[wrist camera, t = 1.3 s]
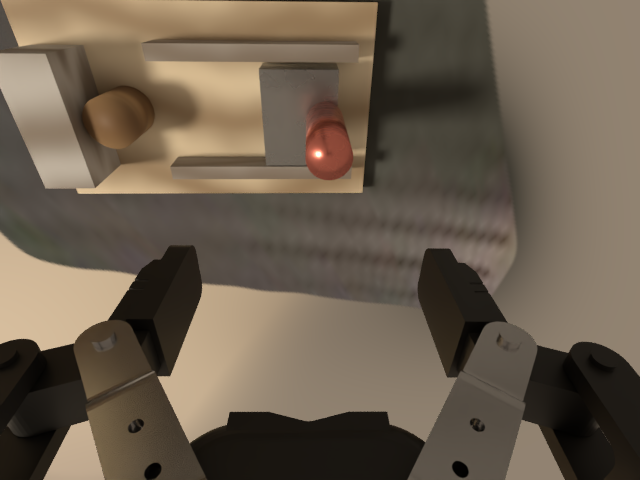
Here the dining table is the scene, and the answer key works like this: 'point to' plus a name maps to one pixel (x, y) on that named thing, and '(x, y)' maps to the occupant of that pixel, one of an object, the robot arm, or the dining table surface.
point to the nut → (118, 116)
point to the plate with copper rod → (304, 118)
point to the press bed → (179, 88)
